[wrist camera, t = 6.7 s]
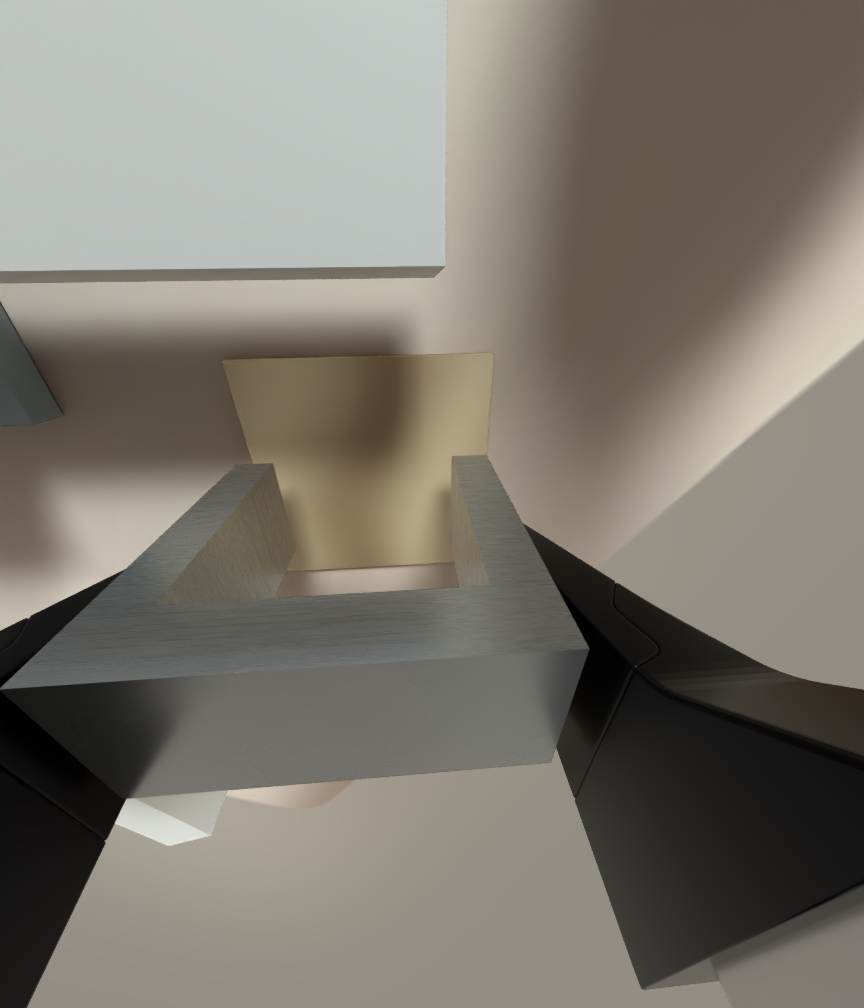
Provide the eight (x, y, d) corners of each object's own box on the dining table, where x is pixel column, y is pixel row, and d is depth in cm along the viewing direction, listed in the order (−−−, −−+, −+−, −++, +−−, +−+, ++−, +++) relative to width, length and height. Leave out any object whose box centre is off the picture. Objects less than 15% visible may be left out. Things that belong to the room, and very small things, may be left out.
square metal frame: (480, 539, 11) (551, 762, 6) (264, 550, 11) (121, 799, 5) (486, 454, 10) (589, 648, 4) (235, 464, 9) (-1, 690, 4)
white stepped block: (281, 742, 22) (246, 867, 17) (77, 724, 20) (-32, 864, 15) (318, 571, 15) (276, 699, 10) (11, 512, 13) (-235, 641, 8)
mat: (490, 352, 11) (493, 354, 10) (477, 554, 15) (479, 560, 14) (227, 359, 10) (221, 361, 10) (288, 565, 14) (285, 571, 14)
